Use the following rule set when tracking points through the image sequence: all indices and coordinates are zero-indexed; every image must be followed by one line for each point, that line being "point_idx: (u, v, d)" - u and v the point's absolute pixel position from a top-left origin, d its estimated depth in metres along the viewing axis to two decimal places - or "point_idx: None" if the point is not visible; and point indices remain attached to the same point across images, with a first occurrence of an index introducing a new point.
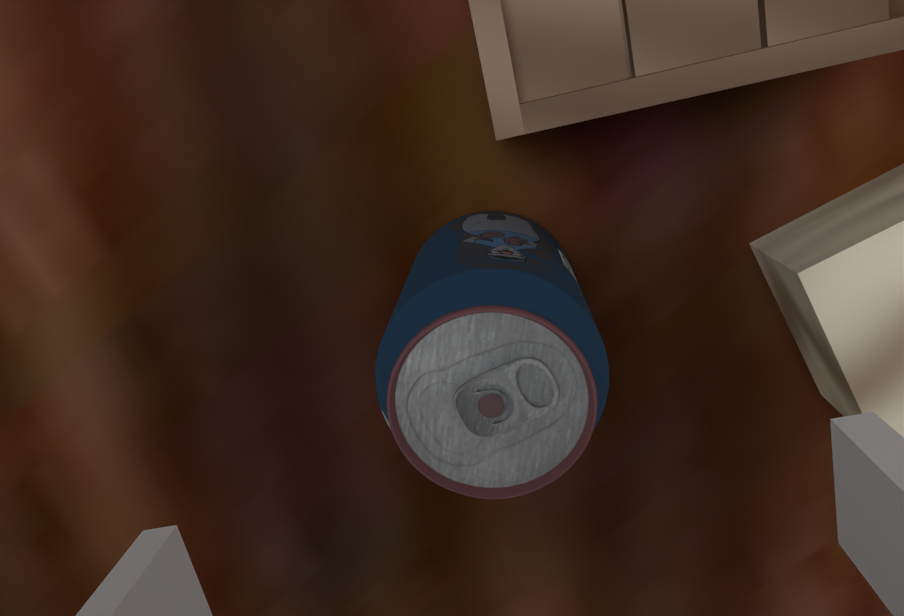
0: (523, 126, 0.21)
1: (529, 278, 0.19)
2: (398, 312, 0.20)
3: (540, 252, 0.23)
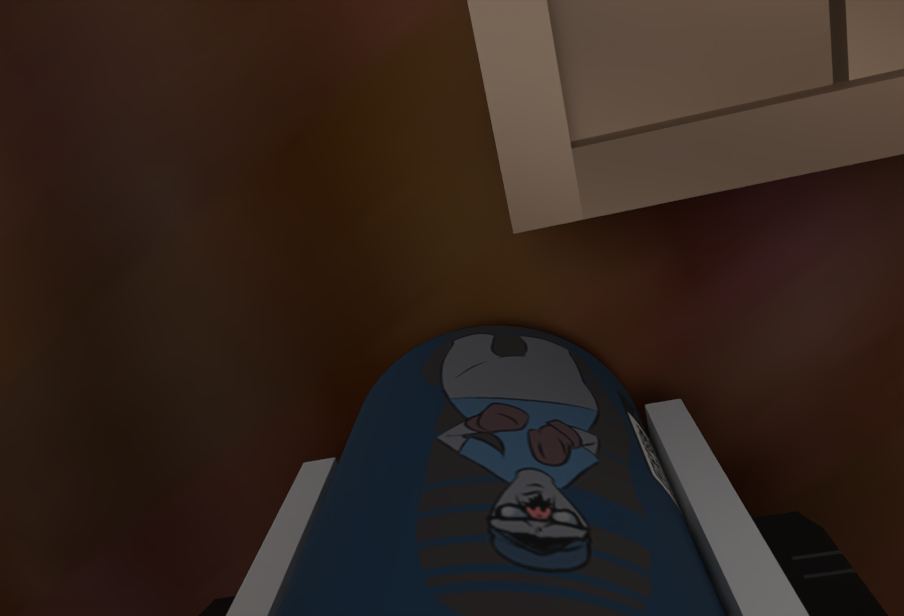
0: (580, 201, 0.09)
1: None
2: None
3: (611, 474, 0.10)
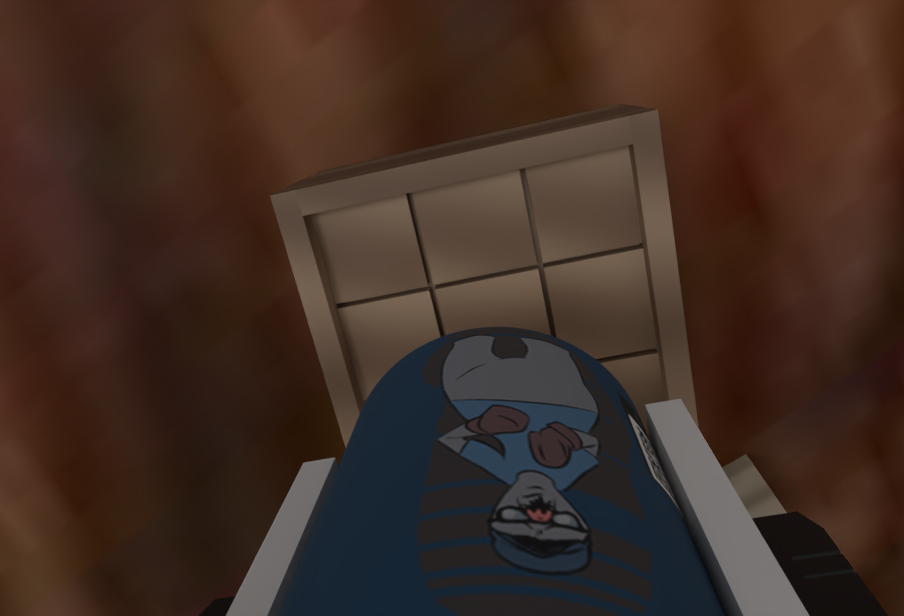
0: None
1: None
2: None
3: (611, 476, 0.10)
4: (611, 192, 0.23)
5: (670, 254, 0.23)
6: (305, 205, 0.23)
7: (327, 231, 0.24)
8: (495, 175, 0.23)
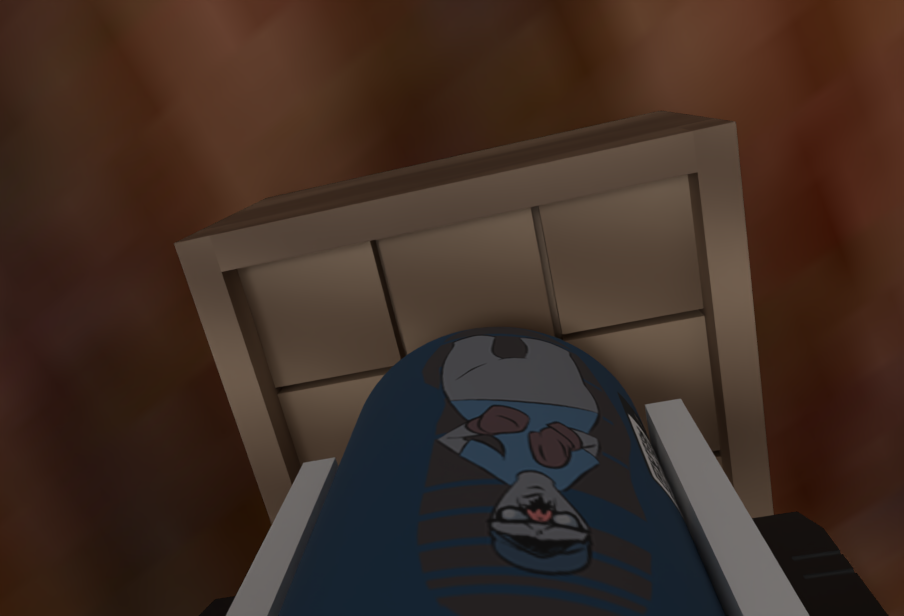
0: None
1: None
2: None
3: (611, 476, 0.10)
4: (661, 238, 0.16)
5: (747, 328, 0.16)
6: (224, 257, 0.16)
7: (260, 290, 0.17)
8: (496, 213, 0.17)
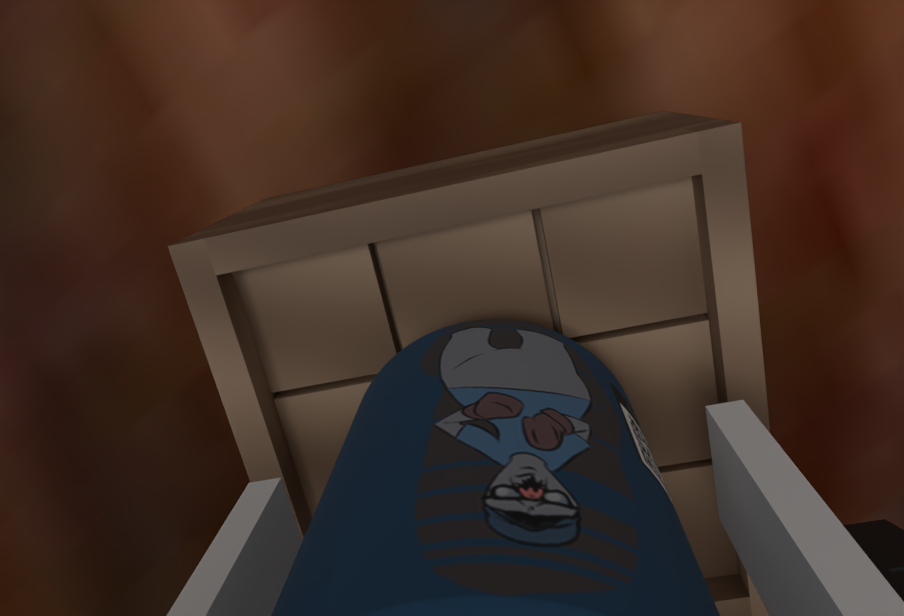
0: None
1: None
2: None
3: (601, 459, 0.10)
4: (664, 241, 0.16)
5: (752, 333, 0.16)
6: (219, 260, 0.16)
7: (256, 293, 0.17)
8: None
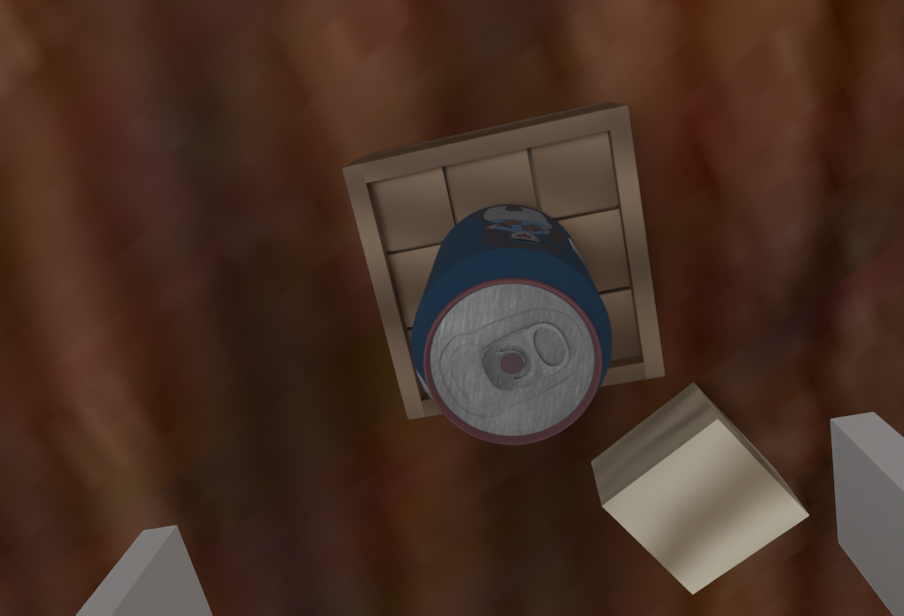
0: (423, 412, 0.35)
1: (545, 256, 0.22)
2: (432, 285, 0.23)
3: (553, 237, 0.26)
4: (595, 166, 0.32)
5: (638, 212, 0.31)
6: (368, 175, 0.31)
7: (382, 195, 0.33)
8: (508, 153, 0.32)
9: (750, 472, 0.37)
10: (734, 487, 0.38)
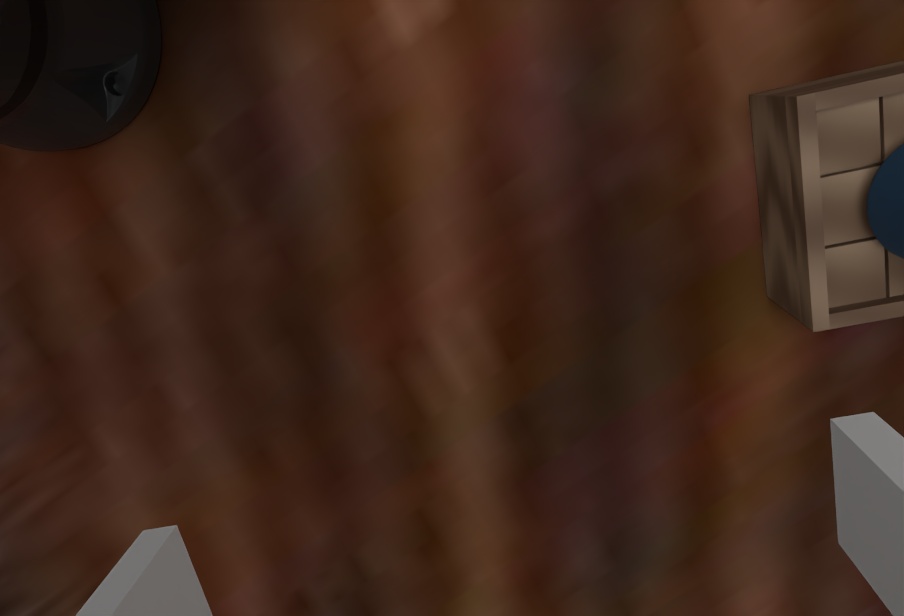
0: (829, 325, 0.38)
1: None
2: None
3: None
4: None
5: None
6: (819, 103, 0.35)
7: (818, 124, 0.36)
8: None
9: None
10: None
